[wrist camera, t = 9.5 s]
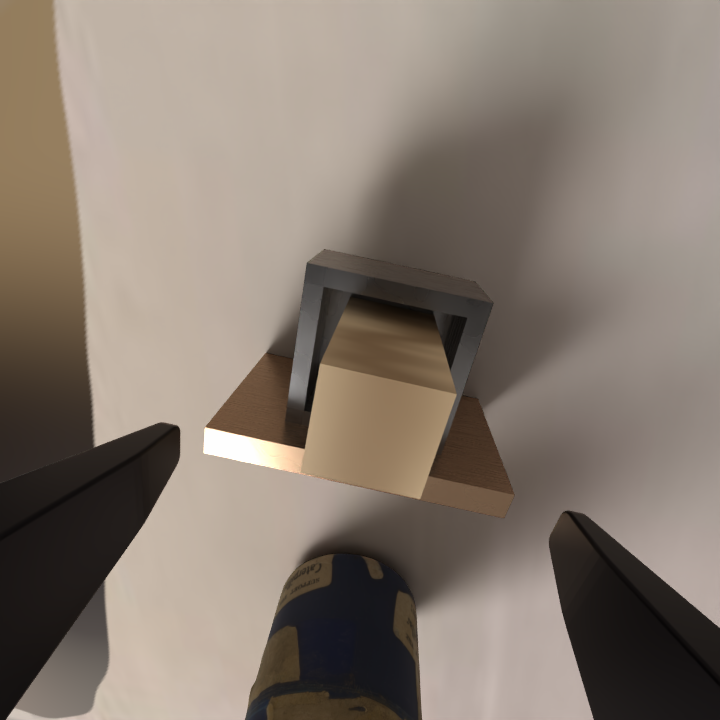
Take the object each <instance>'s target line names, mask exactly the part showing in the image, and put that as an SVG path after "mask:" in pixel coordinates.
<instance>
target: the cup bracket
mask: <svg viewBox="0 0 720 720" xmlns="http://www.w3.org/2000/svg"><path fill="white" fill-rule="evenodd" d="M350 297H355V298H359V299H364V300H368V301H372V302H377V303H381V304H386V305H390V306H395V307H399V308H404V309H408V310H413V311H417V312H421V313H426V314H430V315H434V317H435V320H436V324H437V327H438V331H439V334H440V337H441V341H442V344H443V348H444V351H445V355H446V358H447V362H448V365H449V369H450V372H451V376H452V379H453V383H454V386H455V390H456V393H457V395H456V398H455V401H454V404H453V407H452V409H451V412H450V415H449V418H448V421H447V424H446V427H445V429H444V432H443V435H442V438H441V441H440V444H439V447H438V450H437V452H436V455H435V458H434V461H433V464H432V467H431V470H430V472H429V475H428V478H427V481H426V484H425V487H424V490H423V493H422V495H421V498H420V499H418V500H422V501H427V502H431V503H436V504H441V505H445V506H450V507H454V508H459V509H464V510H468V511H473V512H477V513H482V514H486V515H491V516H496V517H500V518H504V517H505V515H506V513H507V511H508V508H509V506H510V504H511V502H512V500H513V498H514V496H515V494H514V492H513V489H512V487H511V484H510V481H509V479H508V476H507V474H506V471H505V468H504V466H503V463H502V460H501V458H500V455H499V453H498V450H497V447H496V445H495V442H494V440H493V437H492V434H491V432H490V429H489V426H488V424H487V421H486V419H485V416H484V413H483V411H482V408H481V406H480V403H479V400H478V399H476V398H471V397H466V396H462V393H463V390H464V387H465V384H466V381H467V378H468V376H469V373H470V370H471V367H472V364H473V361H474V358H475V355H476V352H477V349H478V347H479V344H480V341H481V338H482V335H483V332H484V329H485V326H486V323H487V321H488V318H489V315H490V312H491V309H492V306H493V302H492V301H491V300H490V298H489V297H488V296H487V295H486V294H485V293H484V291H483V290H482V289H481V288H480V287H479V285H478V284H477V283H476V282H474V281H470V280H465V279H460V278H456V277H451V276H447V275H442V274H437V273H433V272H428V271H423V270H419V269H414V268H409V267H405V266H400V265H396V264H391V263H386V262H382V261H377V260H372V259H368V258H363V257H359V256H354V255H349V254H345V253H340V252H335V251H331V250H326V249H324V250H323V251H321V252H320V253H319V254H317V255H316V256H315V257H314V258H312V259H311V260H310V261H309V262H307V266H306V273H305V280H304V287H303V294H302V302H301V309H300V316H299V323H298V330H297V338H296V345H295V352H294V359H291V358H287V357H282V356H277V355H273V354H268V353H265V355H264V356H263V357H262V358H261V359H260V361H259V362H258V363H257V364H256V366H255V367H254V368H253V369H252V370H251V372H250V373H249V374H248V375H247V377H246V378H245V379H244V380H243V381H242V383H241V384H240V385H239V386H238V388H237V389H236V390H235V391H234V392H233V394H232V395H231V396H230V397H229V399H228V400H227V401H226V402H225V403H224V405H223V406H222V407H221V408H220V410H219V411H218V412H217V413H216V414H215V416H214V417H213V418H212V419H211V421H210V422H209V423H208V424H207V426H206V427H205V436H204V453H207V454H211V455H216V456H221V457H225V458H230V459H234V460H239V461H244V462H248V463H253V464H257V465H262V466H266V467H271V468H276V469H280V470H285V471H289V472H294V473H299V474H303V475H308V476H312V477H317V478H321V479H326V480H331V481H335V482H340V483H344V484H349V485H354V484H350V483H345V482H341V481H336V480H332V479H327V478H323V477H318V476H314V475H310V474H305V473H301V467H302V462H303V456H304V451H305V445H306V439H307V434H308V428H309V423H310V417H311V412H312V406H313V400H314V395H315V389H316V384H317V378H318V372H319V367H320V363H321V360H322V358H323V356H324V354H325V352H326V349H327V347H328V345H329V343H330V341H331V338H332V336H333V334H334V332H335V329H336V327H337V325H338V323H339V321H340V318H341V316H342V314H343V312H344V310H345V307H346V305H347V303H348V301H349V299H350ZM354 486H358V485H354ZM358 487H363V486H358ZM363 488H367V487H363ZM367 489H372V488H367ZM372 490H376V489H372ZM376 491H381V490H376ZM381 492H385V491H381ZM386 493H390V492H386ZM390 494H394V493H390ZM395 495H398V494H395ZM399 496H403V495H399ZM404 497H407V496H404ZM409 498H412V497H409ZM413 499H416V498H413Z"/></svg>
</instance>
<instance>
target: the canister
mask: <svg viewBox="0 0 720 720" xmlns="http://www.w3.org/2000/svg"><path fill="white" fill-rule="evenodd" d="M245 720H422V712H421V693H420V670H419V654H418V634H417V615H416V607H415V602H414V599H413V595H412V593H411V591H410V589H409V587H408V586H407V584H406V583H405V581H404V580H403V579H402V578H401V577H400V576H399V575H398V574H397V573H396V572H395V571H393V570H392V569H391V568H389V567H388V566H386V565H384V564H383V563H380V562H378V561H376V560H374V559H371V558H368V557H365V556H360V555H353V554H330V555H324V556H321V557H317V558H315V559H312V560H310V561H308V562H306V563H304V564H302V565H301V566H299V567H298V568H296V569H295V571H294V572H293V573H292V574H291V575H290V577H289V578H288V580H287V582H286V583H285V585H284V588H283V590H282V593H281V596H280V600H279V603H278V606H277V610H276V613H275V617H274V620H273V624H272V627H271V631H270V634H269V638H268V641H267V644H266V647H265V650H264V653H263V657H262V660H261V664H260V668H259V672H258V675H257V678H256V681H255V683H254V685H253V686H252V688H251V691H250V696H249V702H248V709H247V714H246V718H245Z"/></svg>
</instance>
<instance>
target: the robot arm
mask: <svg viewBox="0 0 720 720" xmlns="http://www.w3.org/2000/svg"><path fill="white" fill-rule="evenodd" d="M179 458H180V428H179V427H178V426H177V425H173V424H168V423H163V422H161V423H157V424H155V425H152V426H149V427H147V428H144V429H141V430H139V431H136V432H134V433H131V434H128V435H126V436H123V437H120V438H118V439H115V440H113V441H110V442H107V443H105V444H102V445H100V446H97V447H94V448H92V449H89V450H87V451H84V452H81V453H79V454H76V455H73V456H71V457H68V458H66V459H63V460H60V461H58V462H55V463H52V464H50V465H47V466H44V467H42V468H39V469H37V470H34V471H31V472H29V473H26V474H24V475H21V476H18V477H16V478H13V479H10V480H8V481H5V482H2V483H0V720H6V719H7V717H8V716H9V715H10V713H11V712H12V710H13V709H14V707H15V706H16V705H17V703H18V702H19V700H20V699H21V698H22V696H23V695H24V693H25V692H26V690H27V689H28V688H29V686H30V685H31V683H32V682H33V680H34V679H35V678H36V676H37V675H38V673H39V672H40V671H41V669H42V668H43V666H44V665H45V664H46V662H47V661H48V659H49V658H50V656H51V655H52V654H53V652H54V651H55V649H56V648H57V646H58V645H59V643H60V642H61V641H62V639H63V638H64V637H65V635H66V634H67V632H68V631H69V630H70V628H71V627H72V625H73V624H74V622H75V621H76V620H77V618H78V617H79V615H80V614H81V613H82V611H83V610H84V608H85V607H86V605H87V604H88V603H89V601H90V600H91V598H92V597H93V595H94V594H95V593H96V591H97V590H98V588H99V587H100V586H101V584H102V583H103V581H104V580H105V579H106V577H107V576H108V574H109V573H110V571H111V570H112V569H113V567H114V566H115V564H116V563H117V562H118V560H119V559H120V557H121V556H122V554H123V553H124V552H125V550H126V549H127V547H128V546H129V545H130V543H131V542H132V540H133V539H134V537H135V536H136V535H137V533H138V532H139V530H140V529H141V527H142V526H143V524H144V523H145V521H146V519H147V518H148V516H149V514H150V512H151V511H152V509H153V507H154V505H155V504H156V502H157V500H158V498H159V496H160V495H161V493H162V491H163V489H164V487H165V486H166V484H167V482H168V480H169V478H170V477H171V475H172V473H173V471H174V469H175V468H176V466H177V464H178V461H179ZM549 548H550V553H551V559H552V564H553V569H554V574H555V579H556V584H557V589H558V594H559V599H560V604H561V609H562V613H563V617H564V621H565V624H566V628H567V631H568V634H569V638H570V641H571V645H572V648H573V651H574V655H575V658H576V661H577V665H578V668H579V671H580V675H581V678H582V681H583V685H584V688H585V691H586V695H587V698H588V701H589V705H590V708H591V711H592V715H593V718H594V720H720V628H719V627H718V626H717V625H715V624H714V623H713V622H712V621H711V620H709V619H708V618H707V617H706V616H705V615H704V614H702V613H701V612H700V611H699V610H698V609H696V608H695V607H694V606H693V605H692V604H690V603H689V602H688V601H687V600H686V599H685V598H683V597H682V596H681V595H680V594H679V593H677V592H676V591H675V590H674V589H673V588H672V587H670V586H669V585H668V584H667V583H666V582H664V581H663V580H662V579H661V578H660V577H658V576H657V575H656V574H655V573H654V572H653V571H651V570H650V569H649V568H648V567H647V566H645V565H644V564H643V563H642V562H641V561H640V560H638V559H637V558H636V557H635V556H634V555H632V554H631V553H630V552H629V551H628V550H627V549H625V548H624V547H623V546H622V545H621V544H619V543H618V542H617V541H616V540H615V539H613V538H612V537H611V536H610V535H609V534H608V533H606V532H605V531H604V530H603V529H602V528H600V527H599V526H598V525H597V524H596V523H595V522H593V521H592V520H591V519H590V518H589V517H587V516H586V515H585V514H582V513H578V512H573V511H564V512H563V513H562V514H561V516H560V518H559V520H558V522H557V523H556V525H555V527H554V529H553V531H552V533H551V535H550V538H549Z"/></svg>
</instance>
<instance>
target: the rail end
mask: <svg viewBox="0 0 720 720" xmlns="http://www.w3.org/2000/svg"><path fill="white" fill-rule="evenodd" d="M456 395H457V393H456V390H455V386H454V383H453V379H452V376H451V372H450V369H449V365H448V362H447V358H446V355H445V351H444V348H443V344H442V341H441V337H440V334H439V331H438V327H437V324H436V320H435V317H434V315H430V314H426V313H421V312H417V311H413V310H408V309H404V308H399V307H395V306H390V305H386V304H381V303H377V302H372V301H368V300H364V299H359V298H355V297H350V299H349V301H348V303H347V305H346V307H345V310H344V312H343V314H342V316H341V318H340V321H339V323H338V325H337V327H336V329H335V332H334V334H333V336H332V338H331V341H330V343H329V345H328V347H327V349H326V352H325V354H324V356H323V358H322V360H321V363H320V367H319V372H318V378H317V384H316V389H315V395H314V400H313V406H312V412H311V417H310V423H309V428H308V434H307V439H306V445H305V451H304V456H303V462H302V467H301V473H305V474H310V475H314V476H318V477H323V478H327V479H332V480H336V481H341V482H345V483H350V484H354V485H358V486H363V487H367V488H372V489H376V490H381V491H385V492H390V493H394V494H398V495H403V496H407V497H412V498H416V499H420V498H421V495H422V493H423V490H424V487H425V484H426V481H427V478H428V475H429V472H430V470H431V467H432V464H433V461H434V458H435V455H436V452H437V450H438V447H439V444H440V441H441V438H442V435H443V432H444V429H445V427H446V424H447V421H448V418H449V415H450V412H451V409H452V407H453V404H454V401H455V398H456Z"/></svg>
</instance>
